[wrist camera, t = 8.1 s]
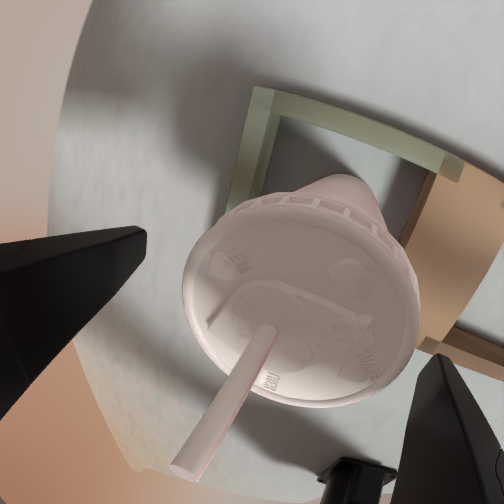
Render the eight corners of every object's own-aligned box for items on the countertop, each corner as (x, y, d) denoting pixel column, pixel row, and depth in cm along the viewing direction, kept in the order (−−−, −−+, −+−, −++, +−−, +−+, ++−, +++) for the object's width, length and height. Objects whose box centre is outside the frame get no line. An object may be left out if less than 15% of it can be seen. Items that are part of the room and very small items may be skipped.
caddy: (521, 369, 15) (527, 390, 13) (230, 250, 19) (214, 265, 18) (599, 251, 10) (614, 266, 8) (268, 87, 14) (253, 85, 13)
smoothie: (269, 156, 16) (9, 309, 4) (396, 139, 13) (478, 345, 2) (293, 269, 18) (151, 496, 7) (407, 263, 16) (391, 552, 4)
